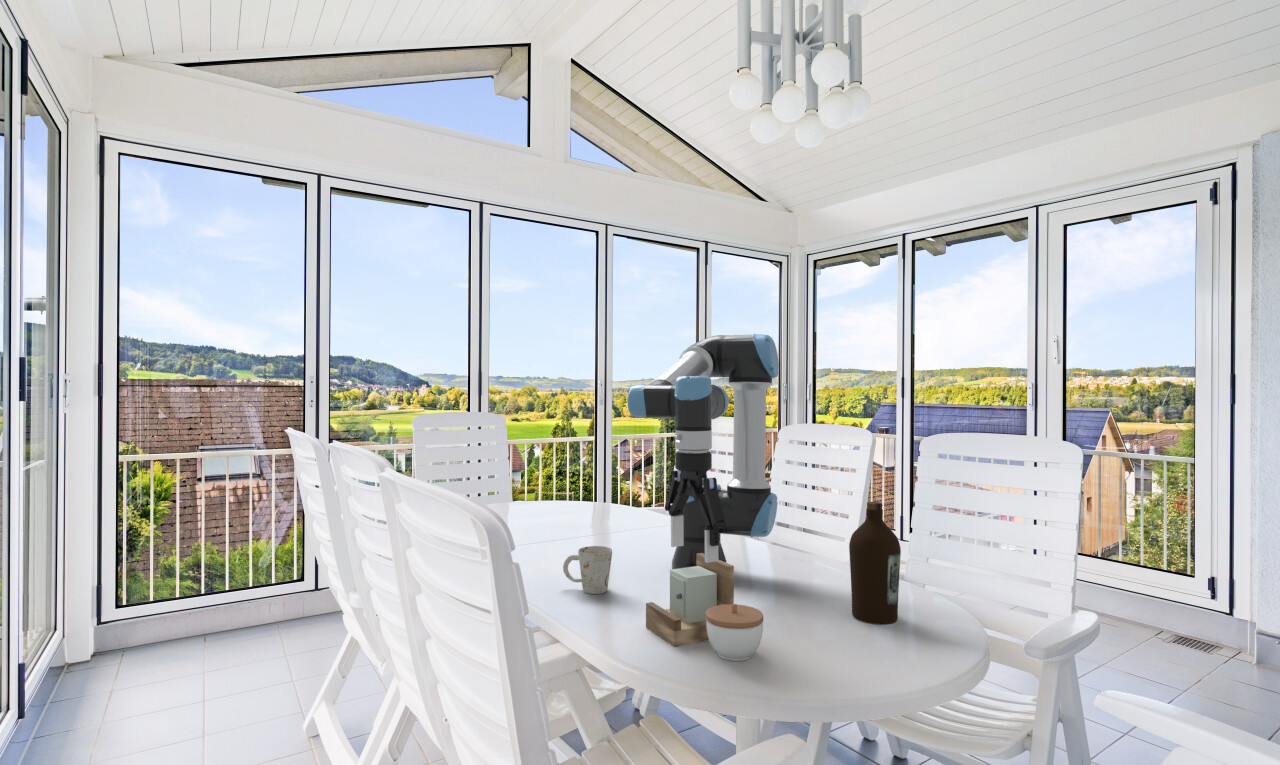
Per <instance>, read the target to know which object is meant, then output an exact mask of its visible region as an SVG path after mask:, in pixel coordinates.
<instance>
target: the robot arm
mask: <svg viewBox="0 0 1280 765" xmlns="http://www.w3.org/2000/svg"><path fill="white" fill-rule="evenodd" d="M779 362H780V361H779V354H778V350H777V346H776V343H775V341H774V339H773V337H772V336H770V335H769V334H758V333H757V334H756V333H751V334H748V333H747V334H728V335H723V334H722V335H721V334H720V335H712V336H710V337H707V338H704V339H702V340H699V341H697V342H695V343H693V344H691V345H690V346H689V347H687V348H686V349H684V350H683V351H682V352H681V354H680V356H679V358H678V360H677V361H676V362H674V363H673V364H672V365H671V366H670V367H668V368H667V369H666V370H664V372H663V373H662V372H661V374H660V375H658V376H657V377H656V378H655V379H654V380H653V381H651V383H649V384H642V383H641V384H637V385H635V384H634V385H633V386H631V387H630V388H629V390H628V394H627V402H626V403H627V408H628V409H627V410H628V412H629V413H630V415H631V416H632V417H634V418H644V419H674V420H675V421H674V422H675V423H674V424H675V427H674V428H675V433H674V434H675V435H674V440H675V443H674V444H675V450H677V451H675V454H674V455H675V456H674V459H675V462H674V463H675V464H674V466H675V467H674V468H675V469H676V470H672V471H671V472H672V473H671V482H670V485H669V488H668V489H669V490H668V493H667V498H666V500H665V501H666V502H665V504H664V505H665V506H664V511H666V512H668V514H669V516H670V547H671V548H675V551H674V554H673V557H672V560H671V570H672V569H679V568H687V567H694V566H696V554H697V553H704V554H705V562H706V563H709V562H716V561H718V559H719V560H721V561H723V562H726V563H728V562H727V558H726V555H725V552H724V549H723V545H722V543H721V541H722V540H721V535H733V536H735V535H736V536H743V537H750V538H754V537H756V538H765V537H768V536H769V535H770V534H771V533H772V531H773V528H774V525H775V523H776V517H777V511H778V495H777V494H776V493H774V492H772V490H771V489H772V486H771V484H770V483H769V482H768V481H767V480H766V443H767V440H766V435H767V434H766V433H767V428H766V427H767V424H766V423H767V390H768V389H769V388H770V387H771V386H772V384H773V379H775V378H777V377H778V375H779V369H780V366H779V365H780V364H779ZM711 378H728V385H729V386H730V387H731V388H732V389H733V445H732V447H733V448H732V449H733V452H732V454H733V455H732V460H733V461H732V479H731V480H730V481H729V482H728V483H727V484H726V490H722V486H721V484H719V483H717V481H718V480H717V478H716V477H708V474H707V472H709V471H710V470H712V466H713V460H712V459H713V458H712V457H713V456H712V455H713V454H712V452H711V451H710V450H712V448H713V440H712V438H713V436H712V433H713V432H712V431H713V430H712V428H713V427H712V420H716V419H719V417H721V416H723V415H724V414H725V413H726V412H727V410H728V408H729V404H730V400H729V395H728V393H727V392H726V390H725V389H723V388H722V387H721V386H719V385H715V384H713V383H712V379H711Z"/></svg>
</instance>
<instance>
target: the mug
mask: <svg viewBox="0 0 1280 765" xmlns="http://www.w3.org/2000/svg"><path fill="white" fill-rule="evenodd" d="M577 553H578V554H572V555H569V556H567V557H566V559H565V560H564V562H563V565H562V570H563V573H564V575H565V577H566V578H567V579H568V580H569V581H571V582H573V583H581V585H582V586H581V588H582V591H583V592H584V593H585V594H589V595H590V594H591V595H601V594H603V593H607V592H608V587H609V582H610V580H609V579H610V572H611V564H612V558H613V557H612V556H613V549H612V548H611V547H608V546H603V545H592V546H591V545H590V546H583V547H581V548H579V549H578V552H577ZM572 561H579V569H580V578H575V577H574V576H572V575H571V573H570V571H569V564H570V563H572Z"/></svg>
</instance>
